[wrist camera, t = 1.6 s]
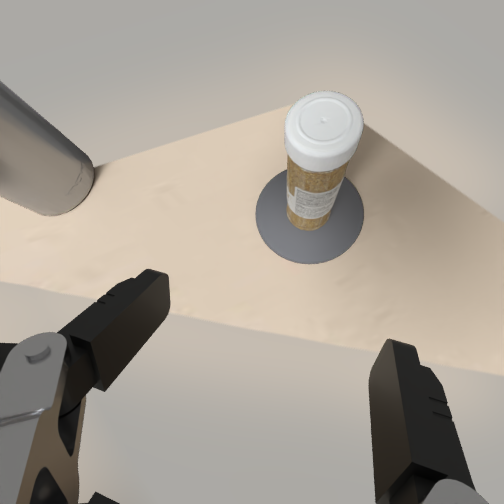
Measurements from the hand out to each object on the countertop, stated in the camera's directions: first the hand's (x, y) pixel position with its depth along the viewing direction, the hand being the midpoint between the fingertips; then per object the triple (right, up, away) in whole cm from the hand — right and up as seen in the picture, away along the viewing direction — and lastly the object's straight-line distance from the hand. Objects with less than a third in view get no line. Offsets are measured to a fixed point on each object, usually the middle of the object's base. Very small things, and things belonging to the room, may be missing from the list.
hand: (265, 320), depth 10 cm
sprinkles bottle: (+5, +7, +19) cm, 21 cm away
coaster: (+5, +7, +19) cm, 21 cm away
